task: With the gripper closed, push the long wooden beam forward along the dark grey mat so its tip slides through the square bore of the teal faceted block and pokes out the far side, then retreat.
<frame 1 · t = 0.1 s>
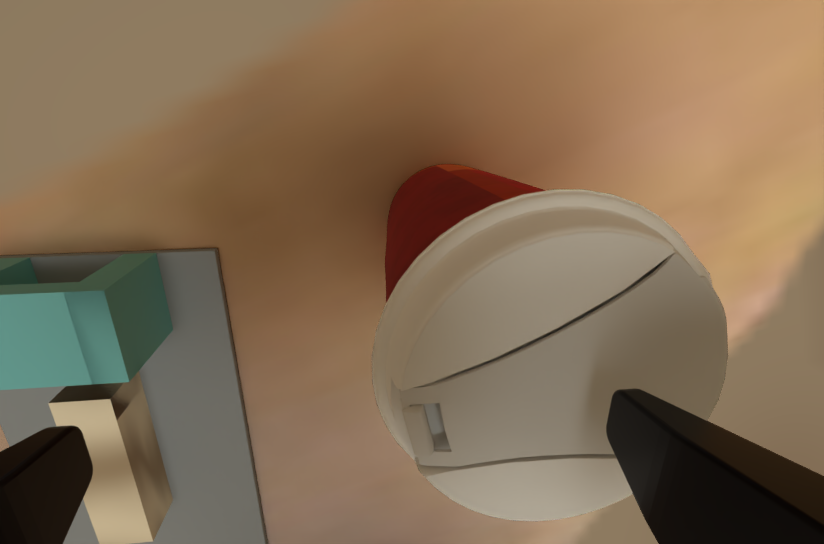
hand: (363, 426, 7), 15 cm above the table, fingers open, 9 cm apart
mat: (132, 427, 24), on the table
long wooden beam: (131, 439, 24), resting on mat
paper cup: (444, 219, 22), on the table
teal faceted block: (89, 295, 21), resting on mat
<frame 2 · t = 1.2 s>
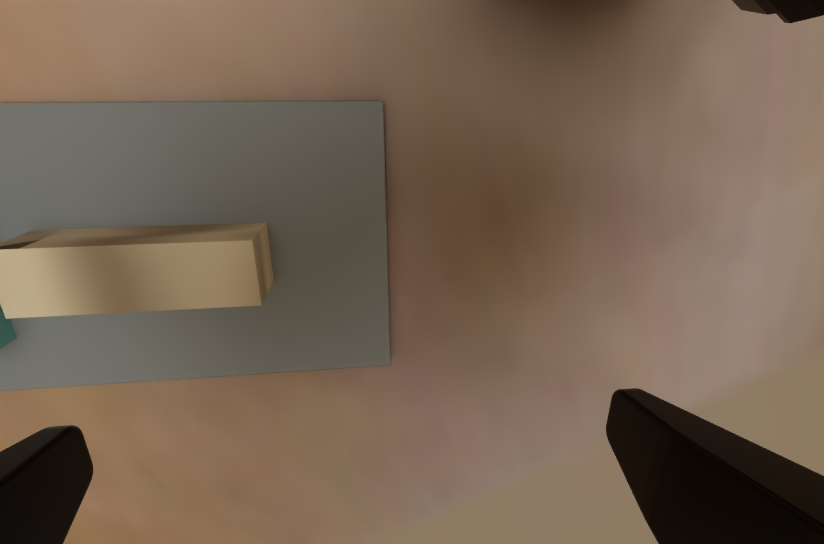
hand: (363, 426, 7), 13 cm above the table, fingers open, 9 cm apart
mat: (151, 254, 19), on the table
long wooden beam: (159, 256, 18), resting on mat
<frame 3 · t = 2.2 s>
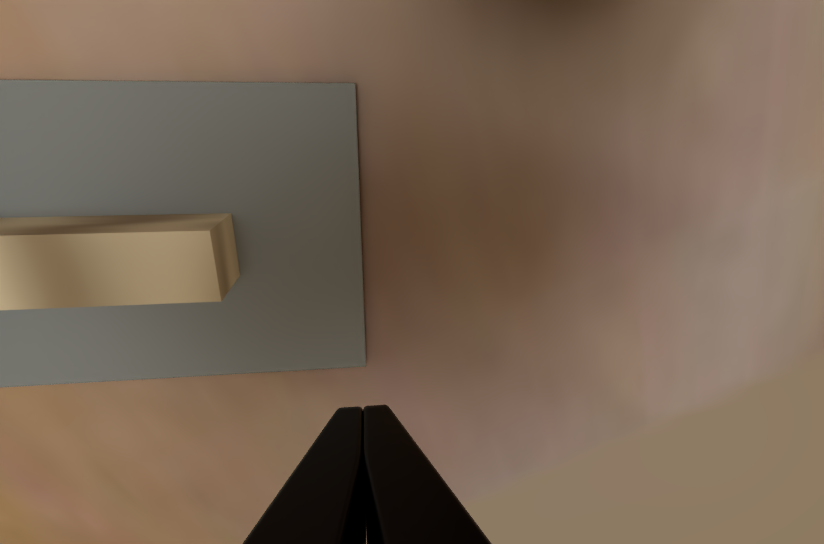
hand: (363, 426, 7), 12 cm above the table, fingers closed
mat: (108, 245, 17), on the table
long wooden beam: (116, 248, 17), resting on mat
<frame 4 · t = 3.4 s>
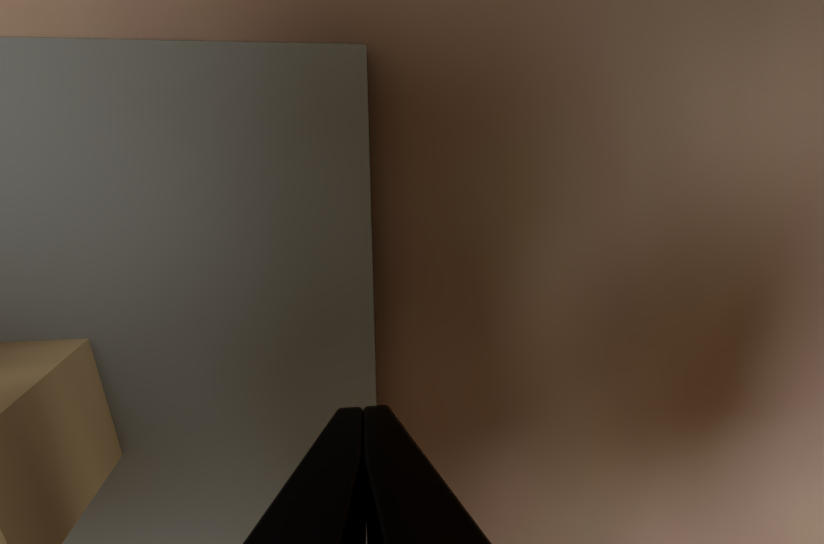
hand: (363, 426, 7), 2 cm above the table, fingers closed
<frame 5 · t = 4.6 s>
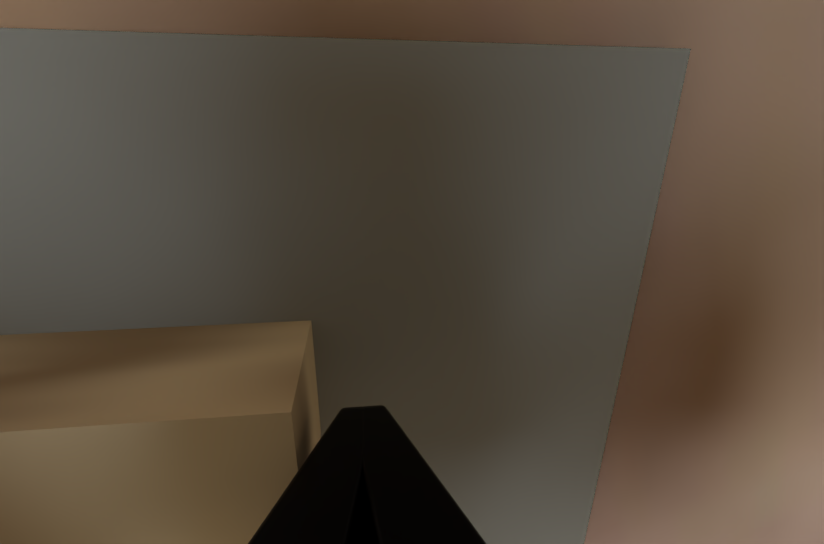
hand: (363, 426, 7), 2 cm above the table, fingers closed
mat: (130, 379, 9), on the table
long wooden beam: (68, 394, 8), resting on mat, touching gripper
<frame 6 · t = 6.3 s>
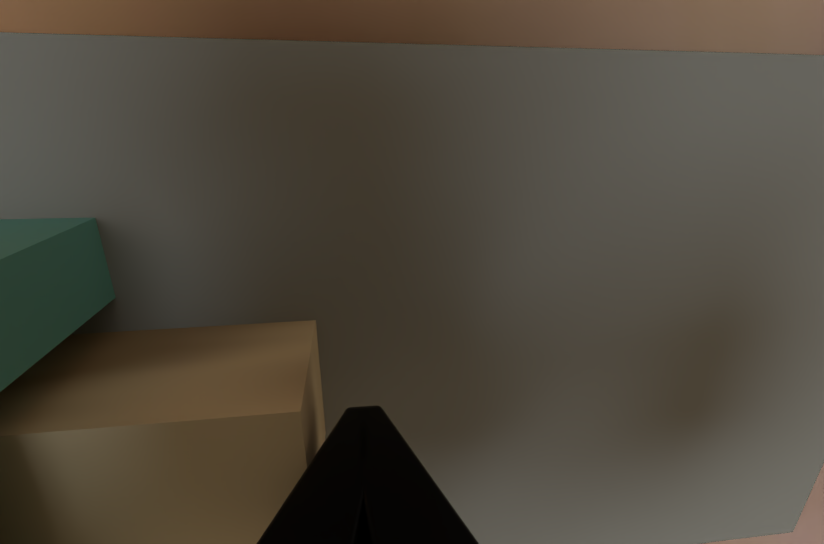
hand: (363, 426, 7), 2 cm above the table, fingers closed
mat: (449, 363, 9), on the table
long wooden beam: (72, 397, 8), resting on mat, touching gripper
teal faceted block: (23, 402, 8), resting on mat
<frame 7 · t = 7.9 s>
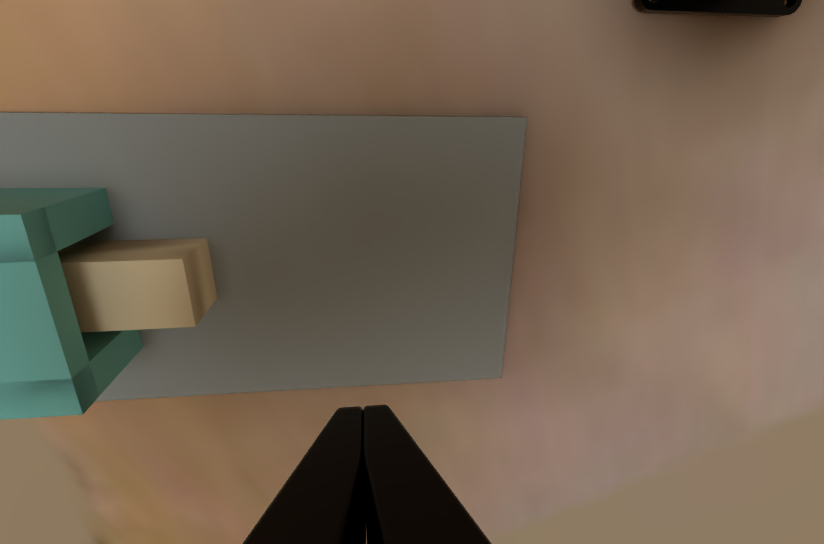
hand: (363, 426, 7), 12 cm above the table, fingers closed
mat: (281, 265, 19), on the table
long wooden beam: (94, 272, 17), resting on mat
teal faceted block: (71, 274, 17), resting on mat
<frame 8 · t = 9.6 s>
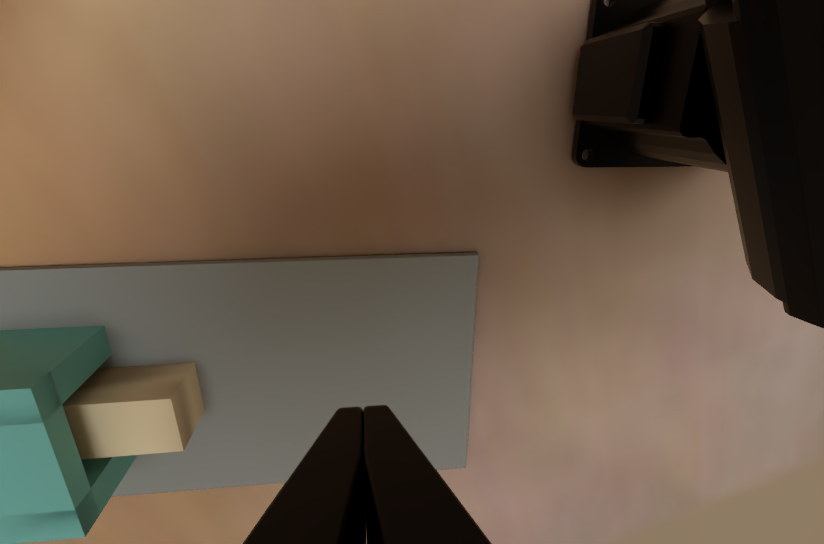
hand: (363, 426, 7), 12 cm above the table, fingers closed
mat: (261, 379, 21), on the table
long wooden beam: (94, 393, 20), resting on mat
teal faceted block: (75, 395, 19), resting on mat
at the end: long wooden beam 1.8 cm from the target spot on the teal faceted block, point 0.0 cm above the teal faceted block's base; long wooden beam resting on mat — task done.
